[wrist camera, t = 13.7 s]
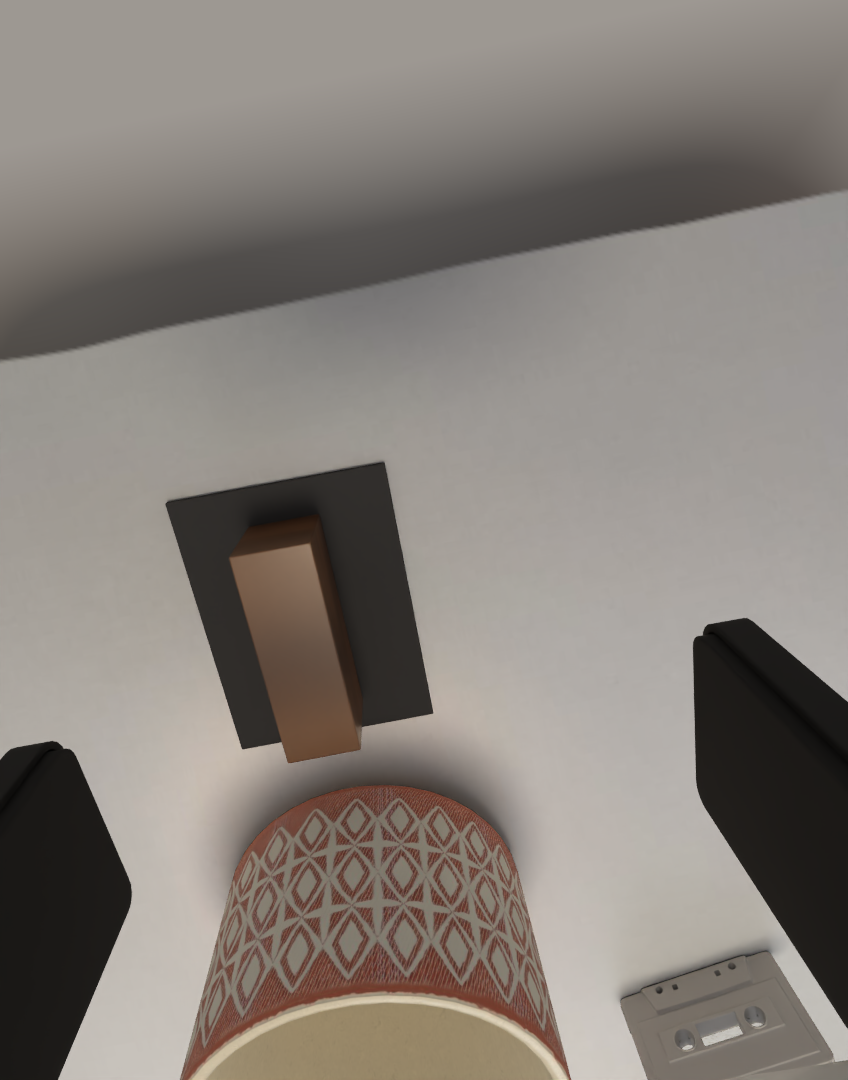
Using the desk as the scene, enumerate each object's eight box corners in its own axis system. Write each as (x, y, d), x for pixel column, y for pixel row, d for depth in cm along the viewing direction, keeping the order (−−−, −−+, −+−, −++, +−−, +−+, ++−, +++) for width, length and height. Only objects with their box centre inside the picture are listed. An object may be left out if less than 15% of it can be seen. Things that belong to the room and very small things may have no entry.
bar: (247, 526, 35) (227, 557, 31) (319, 513, 36) (310, 542, 31) (298, 711, 39) (287, 764, 35) (363, 699, 39) (361, 750, 35)
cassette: (767, 945, 49) (836, 1053, 41) (772, 961, 49) (840, 1071, 42) (616, 995, 49) (657, 1110, 42) (622, 1011, 50) (664, 1128, 43)
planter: (196, 804, 41) (103, 1050, 27) (489, 740, 41) (547, 953, 27) (279, 1011, 47) (237, 1299, 33) (534, 955, 47) (599, 1220, 33)
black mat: (166, 502, 35) (165, 503, 35) (384, 462, 35) (384, 463, 35) (243, 746, 40) (242, 749, 40) (432, 711, 40) (433, 713, 40)
